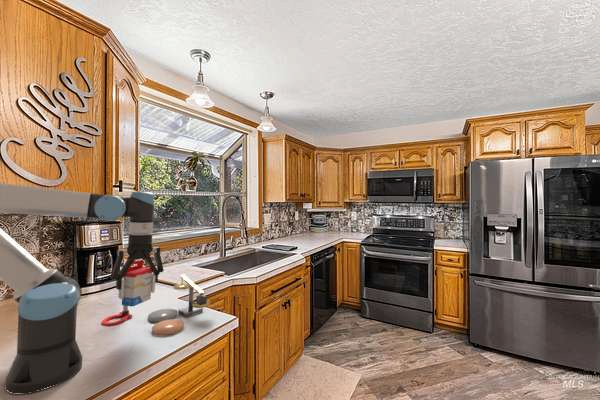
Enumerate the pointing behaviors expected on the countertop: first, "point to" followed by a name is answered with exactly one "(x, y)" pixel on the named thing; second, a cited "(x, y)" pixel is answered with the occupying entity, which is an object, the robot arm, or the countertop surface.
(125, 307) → the tow hook
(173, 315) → the dish high
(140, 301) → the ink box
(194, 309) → the balance
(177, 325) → the dish low
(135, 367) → the countertop surface
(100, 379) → the countertop surface
